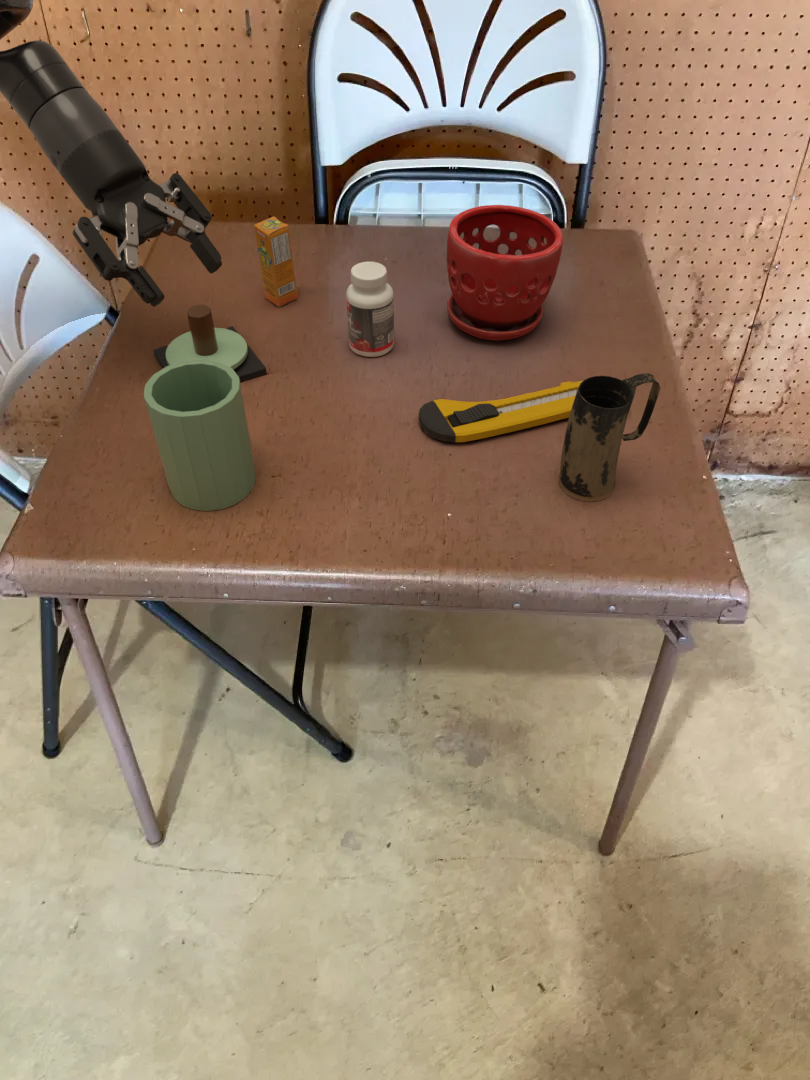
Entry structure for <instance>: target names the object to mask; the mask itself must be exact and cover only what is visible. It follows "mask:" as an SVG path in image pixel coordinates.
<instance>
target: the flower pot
mask: <svg viewBox="0 0 810 1080" xmlns="http://www.w3.org/2000/svg"><path fill="white" fill-rule="evenodd" d="M489 226H496V227H497V228H498V229H499V231H500V232H499V235H498V237H497V238H495V239H493V240H487V239H486V238H485V236H484V233H485V230H486V229H487V227H489ZM475 229H477V233H476V234H473V232H474V230H475ZM511 233H515V234H516V238H511V237H510V236H511V235H510V234H511ZM462 234H463V237H462V238H461V236H462ZM530 239H533V240H534V241H535V242H536V245H535V247H532V246H531V244H530V243H529V242H530V241H529V240H530ZM545 240H546V241H545ZM446 241H447V242H446V269H447V275H448V276H447V279H448V284H449V288H450V291H451V295H450V296H449V297H448V300H447V303H446V310H447V313H448V317H449V318H450V320H451V321H452V323H453V324H454V325H455V326H456V327H457V328H458V329H460V330H461V331H463V332H464V333H466V334H468V335H470V336H473V337H475V338H479V339H482V340H486V341H487V340H488V341H507V340H508V341H509V340H513V339H517V338H520V337H523V336H525V335H527V334H528V333H530V332H531V331H534V329H536V327H537V326H538V325H539V324H540V322H541V320H542V318H543V313H544V312H543V310H544V309H543V304H544V302H545V301H546V299H547V298H548V296H549V293H550V291H551V289H552V286H553V285H554V284H553V283H554V281H555V279H556V276H557V272H558V268H559V265H560V261H561V256H562V251H563V244H564V234H563V231H562V229H561V227H560V226H559V225H558V224H557V223H556V222H555V221H554V220H552V219H551V218H550V217H548V216H546V215H544V214H543V213H541V212H539V211H535V210H532V209H528V208H525V207H521V206H514V205H507V204H506V205H505V204H488V205H487V204H486V205H479V206H475V207H471V208H468V209H466V210H463V211H462V212H459V213H458V214H456V215H455V216H454V217H453V218H452V220H451V221H450V223H449V227H448V232H447V240H446ZM545 242H546V243H545ZM475 244H478V248H477V247H475V246H474V245H475ZM500 245H505V246H507V252H505V253H501V252H500V251H499V246H500ZM517 251H520V252H521V254H520V255H516V252H517Z"/></svg>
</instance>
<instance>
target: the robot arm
mask: <svg viewBox="0 0 810 1080" xmlns="http://www.w3.org/2000/svg"><path fill="white" fill-rule="evenodd" d="M33 6H34V0H0V41H1V40H2V39H3V38H4V37H6V36H7V35H8V34H9V33H11V32H12V31H13V30H14V29H15V28H17V27H19V26H20V25H21V24H23V22H25V20H26V19H27V18H28V17H29V16H30V14H31V13H32V10H33ZM0 94H1V96H2V97H3V98H4V99H5V100H6V101H7V102H8V104H9V105H10V107H11V108H12V109H13V110H14V111H15V113H16V114H17V116H18V117H19V118H20V119H21V121H22V122H23V123H24V124H25V126H26V127H27V129H28V130H29V131H30V132H31V134H32V135H33V137H34V139H35V141H36V142H37V144H38V146H39V147H40V149H41V150H42V152H43V153H44V155H45V156H46V157H47V159H48V160H49V161H50V163H51V165H52V166H53V167H54V168H55V169H56V171H57V172H58V173H59V175H60V176H61V177H62V178H63V180H64V181H65V183H66V184H67V185H68V186H69V188H70V189H71V190H72V192H73V193H74V195H76V197H77V198H78V199H79V201H80V202H81V204H82V205H83V206H84V208H85V209H86V210H88V211H90V212H91V213H92V217H90V218H89V217H87V216H80V217H79V219H78V220H77V223H76V224H75V226H74V228H73V230H72V235H73V237H74V238H75V240H76V241H77V243H78V244H79V245H80V247H81V248H82V250H83V251H84V253H85V254H86V256H87V257H88V259H89V260H90V261H91V263H92V264H93V266H94V267H95V268H96V270H97V271H98V273H99V274H100V275H101V277H102V279H103V280H105V281H108V282H110V281H112V280H113V279H120V278H121V279H124V280H126V281H127V282H128V283H129V285H130V286H131V287H132V288H133V290H134V291H135V293H136V294H137V295H138V296H139V298H140V299H141V300H142V301H143V302H144V303H145V304H146V305H149V304H150V306H151V307H153V308H155V307H158V305H160V304H162V302H163V301H164V300H165V298H166V297H165V294H164V292H163V291H162V290H161V288H160V287H159V286H158V284H157V283H156V282H155V281H154V279H153V278H152V277H151V276H150V274H149V272H148V271H147V270H146V269H145V267H144V265H143V266H140V267H139V252H138V248H139V247H140V246H142V245H143V244H145V243H146V241H147V240H149V239H155V238H156V237H159V236H160V235H162V234H164V235H167V236H168V237H177V238H179V239H181V240H183V241H186V242H188V243H189V244H190V245H189V248H190V249H191V250H192V252H193V253H194V254H195V255H196V257H197V258H198V260H199V261H200V262H201V264H202V265H203V267H204V268H205V269H206V270H207V272H208V273H209V274H211V275H212V274H214V273H216V272H218V270H219V269H220V268H221V267H222V266H223V262H222V256H221V253H220V251H218V249H217V248H216V246H215V244H214V243H213V242H212V240H211V239H210V238H209V237H208V236H207V233H206V228H207V227H208V225H209V223H211V221H212V220H213V214H212V213H211V212H210V211H209V210H208V208H207V206H205V204H204V203H203V202H202V201H201V199H200V198H199V197H198V196H197V194H196V193H195V192H194V191H193V189H192V188H191V187H190V185H189V184H188V183H187V182H186V180H184V179H183V177H182V175H180V174H179V173H177V172H174V173H172V174H171V176H170V177H169V178H168V180H166V181H164V182H163V183H161V184H158V183H157V182H155V181H154V180H152V179H151V177H150V176H149V173H148V171H147V168H146V165H145V164H144V162H143V161H142V159H141V158H140V157H139V156H138V154H137V153H136V152H135V151H134V149H133V147H132V146H131V145H130V143H129V142H128V140H127V139H126V138H125V137H124V135H123V134H122V133H121V132H120V130H119V128H118V127H117V126H116V125H115V123H114V122H113V120H112V119H111V118H110V116H109V114H107V112H106V111H105V110H104V109H103V107H102V106H101V105H100V104H99V103H98V102H97V101H96V99H94V98H93V96H92V95H91V94H90V93H89V92H88V91H87V90H86V87H85V86H84V85H83V84H82V82H81V81H80V80H79V79H78V77H77V76H76V74H75V73H74V72H73V70H72V69H71V68H70V66H69V65H68V63H67V62H66V60H65V59H64V58H63V56H62V55H61V53H59V51H58V50H57V49H56V48H55V47H54V46H53V45H51V44H50V43H49V42H47V41H45V40H39V39H38V40H31V41H27V42H24V43H21V44H18V45H16V46H14V47H11V48H7V49H5V50H0ZM166 199H167V201H168V202H169V203H167V201H166ZM170 203H173V204H174V205H171V204H170ZM168 219H171V220H170V221H169V220H168ZM103 232H105V233H107V234H109V235H111V236H113V237H114V238H115V253H116V254H115V253H114V252H113V250H111V248H110V247H109V245H108V243H107V242H106V241H105V239H104V238H103Z"/></svg>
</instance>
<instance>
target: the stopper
mask: <svg viewBox="0 0 810 1080" xmlns="http://www.w3.org/2000/svg"><path fill="white" fill-rule="evenodd" d="M186 315H187V320H188V325H189V330H190V331H189V330H188V331H186V332H185V333H182V334H180V335H178V336H176V337H175V338H174V339H173V340H171V342H169V344H168V345H169V346H168V347H167V349H166V360H167V363H168V365H172V364H175V363H179V362H182V361H188V360H203V359H204V360H211V361H217V362H221V363H223V364H225V365H227V366H229V367H231V368H232V369H233V370H234V369H235V368H237V367H238V366H239V365H241V364H242V363H243V361H244V360H245V358H246V357H247V354H248V348H247V345H248V343H247V341H246V339H245V338H244V337H243V336H242V335H241V334H240V333H239V332H238V333H239V334H238V333H236V332H234V331H232V330H228V329H225V328H223V327H215V325H214V319H213V314H212V309H211V307H210V306H208V305H206V304H195V305H192V306H190V307H189V308H188V309H187V310H186Z"/></svg>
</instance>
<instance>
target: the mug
mask: <svg viewBox="0 0 810 1080" xmlns="http://www.w3.org/2000/svg"><path fill="white" fill-rule="evenodd" d="M583 380H584V381H583V382H581V383H580V385H579V387H578V390H577V393H576V396H575V399H574V402H573V405H572V409H571V412H570V416H569V417H568V421H567V425H566V428H565V432H564V438H563V444H562V450H561V455H560V464H559V465H560V466H559V468H560V469H559V476H558V484H559V487H560V489H561V491H562V492H563V493H565V494H566V495H568V496H569V497H571V498H572V499H575V500H578V501H581V502H588V503H589V502H590V503H593V502H600V501H603V500H605V499H607V498H609V497H610V496H611V495H612V494H613V493H614V490H615V487H616V477H617V467H618V462H619V457H620V456H619V455H620V449H621V444H622V441H623V442H629V441H635V440H637V439H639V438H640V437H642V436H643V434H644V432H645V430H646V429H647V427H648V426H649V423H650V420H651V417H652V416H653V412H654V410H655V406H656V404H657V401H658V397H659V395H660V391H661V386H660V383H659V382H658V381H657V380H656V379H655V376H654V375H653V374H652V373H650V372H646V373H645V372H644V373H639V374H635V375H633V376H631V377H628V378H624V379H619V378H618V377H615V376H609V375H594V376H589V377H587V378H586V379H583ZM649 383H650V384H651V383H652V384H651V387H650V390H649V394H648V397H647V400H646V404H645V407H644V410H643V413H642V416H641V418H640V421H639V422H638V424H637V426H636V429H635V430H634V431H632V432H631V433H625V432H624V431H625V428H626V423H627V420H628V416H629V413H630V411H631V407H632V404H633V401H634V398H635V395H636V390H637V387H639V386H641V385H644V384H649Z"/></svg>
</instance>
